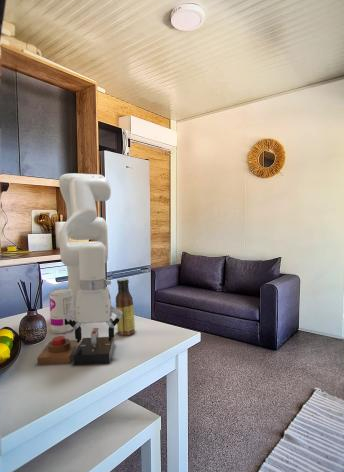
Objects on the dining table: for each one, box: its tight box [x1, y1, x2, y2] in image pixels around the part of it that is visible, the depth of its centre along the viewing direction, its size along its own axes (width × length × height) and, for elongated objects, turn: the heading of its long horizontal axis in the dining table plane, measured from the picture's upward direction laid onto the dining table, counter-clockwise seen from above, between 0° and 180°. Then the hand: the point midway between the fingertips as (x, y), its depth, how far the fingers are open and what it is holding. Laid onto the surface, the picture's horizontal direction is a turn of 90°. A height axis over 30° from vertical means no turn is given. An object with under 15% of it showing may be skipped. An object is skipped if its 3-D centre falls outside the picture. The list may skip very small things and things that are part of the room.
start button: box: [52, 335, 66, 345], centre depth 94 cm, size 4×4×2 cm
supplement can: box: [48, 288, 74, 334], centre depth 115 cm, size 8×8×15 cm
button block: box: [36, 338, 80, 366], centre depth 94 cm, size 12×9×4 cm
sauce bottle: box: [115, 277, 136, 336], centre depth 111 cm, size 7×6×20 cm
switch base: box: [73, 336, 115, 366], centre depth 94 cm, size 13×10×3 cm
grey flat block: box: [90, 327, 100, 348], centre depth 93 cm, size 5×2×5 cm, turn 5°
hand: (95, 340), depth 93 cm, fingers open, 9 cm apart
